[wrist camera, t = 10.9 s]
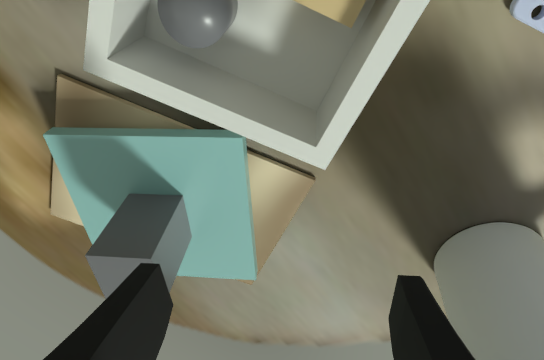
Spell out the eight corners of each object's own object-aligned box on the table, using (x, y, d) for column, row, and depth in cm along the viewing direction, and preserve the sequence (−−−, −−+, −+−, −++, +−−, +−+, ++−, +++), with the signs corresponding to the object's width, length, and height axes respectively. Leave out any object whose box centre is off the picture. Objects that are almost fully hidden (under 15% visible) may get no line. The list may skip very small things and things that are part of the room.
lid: (247, 122, 18) (220, 197, 13) (259, 260, 24) (243, 349, 19) (61, 120, 19) (-29, 188, 14) (115, 253, 25) (64, 334, 20)
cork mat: (315, 177, 20) (315, 180, 20) (252, 281, 26) (251, 285, 25) (60, 73, 18) (57, 75, 18) (53, 211, 24) (50, 214, 23)
